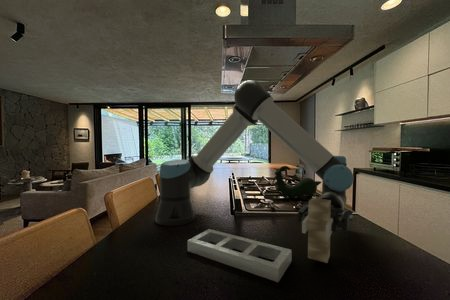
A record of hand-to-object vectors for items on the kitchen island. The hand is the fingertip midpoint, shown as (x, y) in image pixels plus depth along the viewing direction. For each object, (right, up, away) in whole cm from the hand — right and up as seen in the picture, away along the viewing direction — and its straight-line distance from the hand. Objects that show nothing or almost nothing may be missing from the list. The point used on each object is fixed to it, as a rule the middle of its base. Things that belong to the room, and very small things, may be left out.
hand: (315, 229), depth 50 cm
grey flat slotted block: (-17, -10, +8) cm, 22 cm away
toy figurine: (+20, -9, +72) cm, 75 cm away
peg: (+3, -8, +5) cm, 10 cm away
